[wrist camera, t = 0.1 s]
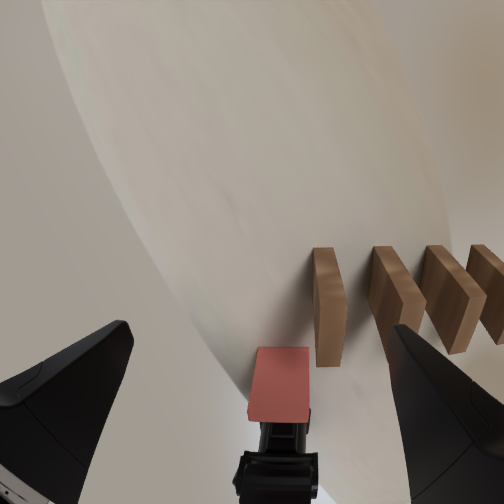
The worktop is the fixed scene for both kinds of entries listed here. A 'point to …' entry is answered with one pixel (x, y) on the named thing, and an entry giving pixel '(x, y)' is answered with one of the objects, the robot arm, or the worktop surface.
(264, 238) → the worktop surface
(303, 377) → the domino
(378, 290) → the domino
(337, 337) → the domino
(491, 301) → the domino
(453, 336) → the domino
